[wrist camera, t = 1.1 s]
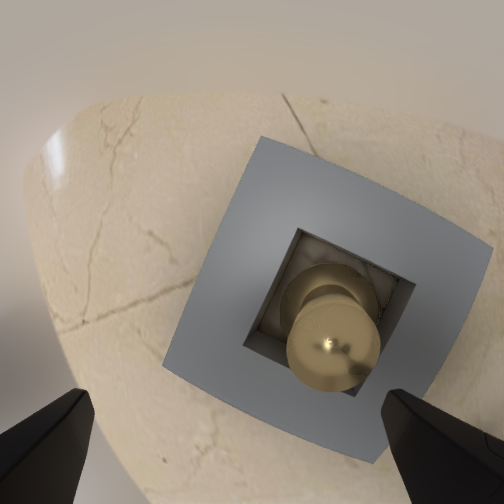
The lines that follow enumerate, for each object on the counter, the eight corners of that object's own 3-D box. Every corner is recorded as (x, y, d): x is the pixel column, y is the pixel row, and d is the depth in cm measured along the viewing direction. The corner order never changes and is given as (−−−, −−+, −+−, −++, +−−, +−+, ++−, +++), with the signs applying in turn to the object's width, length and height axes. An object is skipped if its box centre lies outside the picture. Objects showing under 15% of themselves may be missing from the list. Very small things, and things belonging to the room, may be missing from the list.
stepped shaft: (385, 284, 20) (435, 309, 10) (345, 360, 20) (359, 436, 10) (308, 247, 21) (296, 243, 11) (271, 325, 21) (231, 378, 12)
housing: (467, 248, 18) (493, 248, 14) (367, 434, 20) (372, 463, 16) (271, 155, 21) (261, 135, 18) (186, 349, 23) (161, 365, 19)
